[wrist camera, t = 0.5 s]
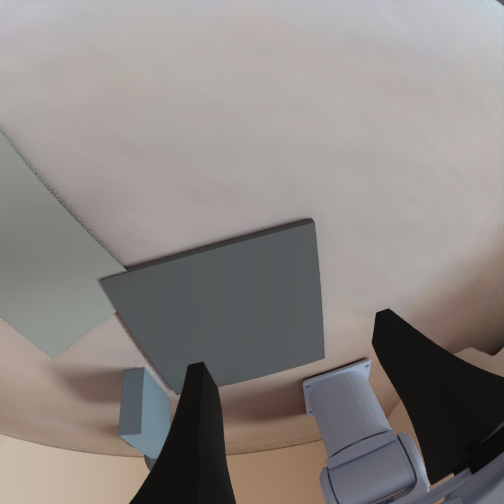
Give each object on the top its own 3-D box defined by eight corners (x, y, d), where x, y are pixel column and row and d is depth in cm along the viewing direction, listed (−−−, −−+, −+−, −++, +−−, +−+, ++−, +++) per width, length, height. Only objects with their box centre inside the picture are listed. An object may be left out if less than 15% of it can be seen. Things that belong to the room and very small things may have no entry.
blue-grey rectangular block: (170, 398, 28) (172, 457, 23) (151, 401, 28) (151, 458, 22) (144, 367, 25) (141, 434, 19) (124, 370, 25) (118, 435, 19)
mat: (322, 353, 28) (324, 358, 28) (176, 390, 28) (176, 394, 27) (311, 218, 20) (314, 222, 19) (101, 275, 19) (99, 280, 19)
